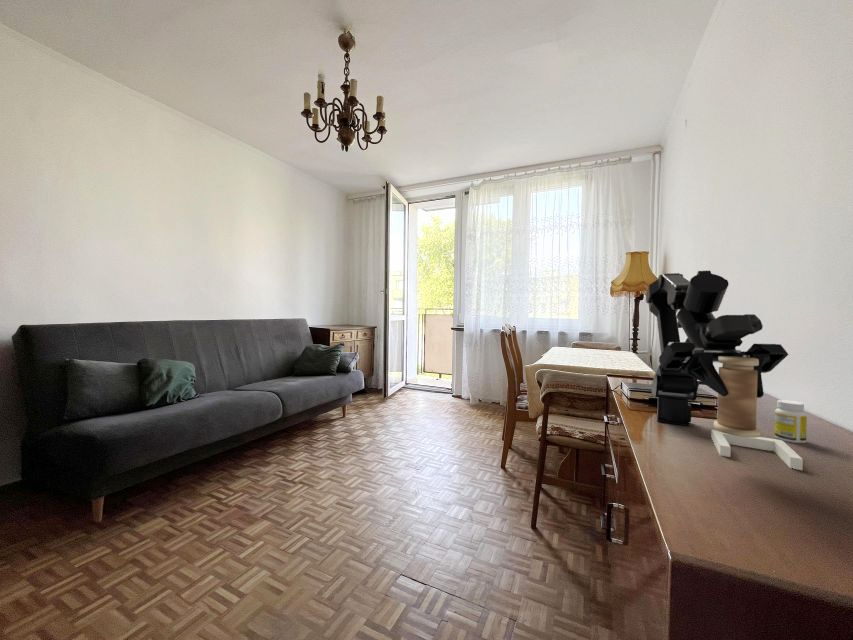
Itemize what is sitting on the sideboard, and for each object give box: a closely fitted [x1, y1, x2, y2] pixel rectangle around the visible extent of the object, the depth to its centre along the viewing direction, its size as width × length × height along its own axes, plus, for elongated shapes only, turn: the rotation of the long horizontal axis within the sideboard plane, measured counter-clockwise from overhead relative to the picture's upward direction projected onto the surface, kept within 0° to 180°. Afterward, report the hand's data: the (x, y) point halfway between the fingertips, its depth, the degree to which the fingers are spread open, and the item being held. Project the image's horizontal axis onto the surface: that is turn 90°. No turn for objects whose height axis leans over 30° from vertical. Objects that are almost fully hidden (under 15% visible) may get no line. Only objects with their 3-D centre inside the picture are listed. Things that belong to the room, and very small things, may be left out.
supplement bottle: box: [774, 399, 808, 444], centre depth 74 cm, size 5×5×8 cm
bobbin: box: [713, 356, 761, 438], centre depth 59 cm, size 6×6×13 cm
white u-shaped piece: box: [710, 429, 804, 471], centre depth 66 cm, size 11×11×2 cm
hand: (743, 395), depth 57 cm, fingers closed on bobbin, 5 cm apart
